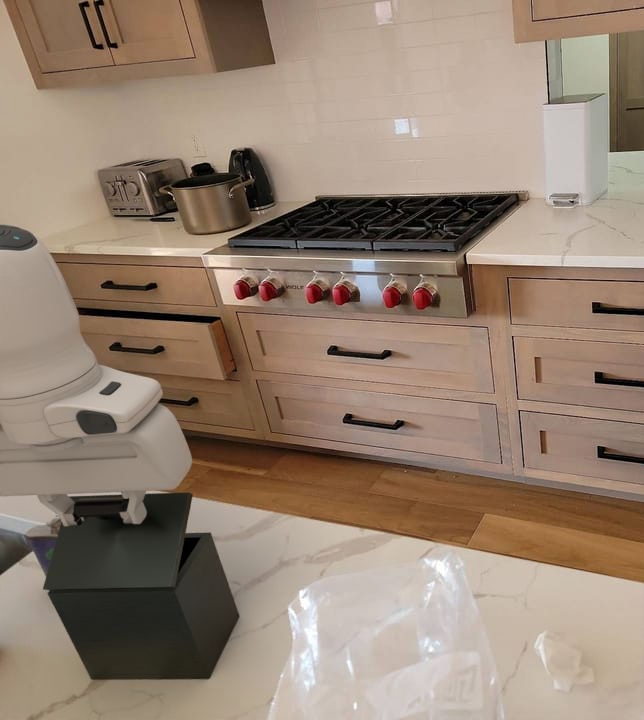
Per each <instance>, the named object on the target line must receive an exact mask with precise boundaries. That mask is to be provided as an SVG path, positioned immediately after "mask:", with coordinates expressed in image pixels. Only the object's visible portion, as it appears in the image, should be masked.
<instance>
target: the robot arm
mask: <svg viewBox="0 0 644 720" xmlns="http://www.w3.org/2000/svg"><path fill="white" fill-rule="evenodd" d="M163 395H164V391H163V388H162V386H161V384H160V382H159V381H158V380H156V379H155V378H151V377H147V376H143V375H139V374H134V373H130V372H126V371H122V370H118V369H115V368H113V367H110V366H107V365H104V364H99V362H98V360H97V357H96V355H95V353H94V351H93V350H92V349H91V347H90V346H89V345H88V344H87V342H86V341H85V339H84V337H83V335H82V330H81V318H80V314H79V310H78V309H77V306H76V303H75V301H74V298H73V296H72V293H71V290H70V289H69V287H68V285H67V283H66V280H65V278H64V276H63V274H62V271H61V270H60V268H59V266H58V265H57V263H56V261H55V259H54V257H53V255H52V254H51V252H50V251H49V250H48V248H47V247H46V246H45V244H44V243H43V242H42V241H41V240H40V239H39V238H38V237H37V236H36V235H35V234H34V233H32V232H31V231H29V230H27V229H24V228H21V227H19V226H15V225H11V224H10V225H9V224H0V498H1V497H24V496H27V497H29V496H36V497H37V499H38V500H39V502H40V503H41V504H42V505H44V507H45V508H47V509H49V510H51V511H52V512H53V513H54V514H55V515H59V517H58V518H60V519H61V521H62V523H63V525H64V526H80V525H81V524H82V522H83V521H85V520H86V518H87V517H76V516H75V514H74V512H73V507H74V504H75V502H74V501H73V500H72V499H71V498H70V497H69V495H76V494H77V495H78V494H81V495H82V494H103V493H104V494H105V493H120V495H122V496H123V498H124V499H128V498H129V501H128V503H127V504H126V505H125V507H124V508H123V509H122V510H121V511H120V512H119V513H120V515H121V518H123V519H124V520H123V522H124V524H141V522H142V521H143V520H144V519H145V517H146V515H147V511H146V509H145V506H144V504H143V500H144V496H145V494H147V492H156V491H158V492H159V491H160V492H161V491H173V490H175V489H176V488H177V487H178V486H179V485H180V484H181V483H182V481H183V480H184V479H185V478H186V476H187V474H188V473H189V472H190V470H191V467H192V465H193V456H192V454H191V451H190V448H189V445H188V442H187V440H186V437H185V435H184V433H183V429H182V428H181V426H180V424H179V421H178V420H177V418H176V416H175V414H174V413H173V412H172V411H171V410H170V409H169V408H167V407H166V406H165V405H163V404H160V403H159V402H160V400H161V399H162V397H163Z"/></svg>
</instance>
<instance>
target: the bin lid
mask: <svg viewBox="0 0 644 720" xmlns="http://www.w3.org/2000/svg"><path fill="white" fill-rule="evenodd" d="M68 496H69V495H68ZM69 497H70V498H71V499H72V500H73V501H74V502H75V504H74V507H73V512H74V514H75V516H76V517H87V518H86V520H85V521H83V522H82V524H81V525H80V526H64V525H63V523H62V522H61V525H60V529H59V532H58V536H57V540H56V543H55V547H54V551H53V554H52V558H51V561H50V565H49V569H48V572H47V576H45V579H44V583H43V587H42V590H44V591H48V592H49V591H50V590H102V589H155V588H175V585H176V580H177V574H178V569H179V564H180V559H181V554H182V549H183V543H184V538H185V533H187V527H188V523H189V517H190V512H191V507H192V501H193V497H194V494H193V493H192V492H189V491H187V492H186V491H185V492H158V493H157V492H156V493H155V492H154V493H145V496H144V500H143V504H144V506H145V509H146V511H147V515H146V517H145V519H144V520H143V521H142V522H141V524H124V522H123V520H124V519H123V518H121V515H120V513H119V512H120V511H121V510H122V509H123V508H124V507H125V505H126V504H127V503H128V501H129V498H128V499H124V498H123V496H122V494H99V495H97V494H96V495H95V494H94V495H74V496H73V495H70V496H69Z"/></svg>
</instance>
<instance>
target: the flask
mask: <svg viewBox="0 0 644 720" xmlns="http://www.w3.org/2000/svg"><path fill="white" fill-rule="evenodd" d="M61 522H62V521H61V519H60V517H59V515H58V514H55V517H54V518H52V519H51V520H50V521H48V522H46V523H45V524H42V525H41V524H40V525H36V526H32V527H31V528H30V529H28V530H27V531H26V533H25V535H24V537H25V539H26V540H27V542H28V544H29V546H30V547H31V550H32V552H33V554H34V555H35V557H36V559H37V562H38V564H39V565H40V568H41V570H42V572H43V574H44V576H45V577H46V576H47V572H48V569H49V565H50V561H51V558H52V554H53V551H54V547H55V543H56V540H57V536H58V532H59V529H60V525H61Z"/></svg>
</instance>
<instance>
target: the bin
mask: <svg viewBox="0 0 644 720" xmlns="http://www.w3.org/2000/svg"><path fill="white" fill-rule="evenodd" d="M47 596H48V598H49V600H50V602H51V604H52V606H53V607H54V609H55V611H56V613H57V616H58V617H59V619H60V621H61V624H62V625H63V627H64V629H65V631H66V633H67V635H68V637H69V639H70V640H71V643H72V645H73V647H74V649H75V650H76V653H77V655H78V656H79V658H80V660H81V662H82V664H83V666H84V669H85V670H86V673H87V674H88V676H89V678H90V680H210V678H211V676H212V674H213V672H214V670H215V668H216V666H217V664H218V661H219V659H220V658H221V655H222V654H223V651H224V649H225V647H226V645H227V643H228V642H229V639H230V637H231V635H232V633H233V631H234V629H235V627H236V625H237V623H238V621H239V618H240V613H239V610H238V607H237V604H236V601H235V598H234V595H233V592H232V589H231V587H230V584H229V581H228V578H227V574H226V572H225V570H224V566H223V564H222V561H221V558H220V554H219V552H218V549H217V547H216V543H215V541H214V538H213V534H212V533H211V532H208V531H207V532H186V533H185V538H184V543H183V549H182V554H181V559H180V564H179V569H178V574H177V580H176V585H175V588H155V589H102V590H49V591H48V592H47Z"/></svg>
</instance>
